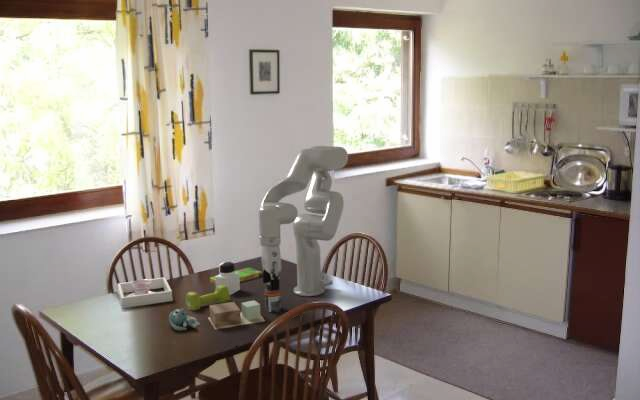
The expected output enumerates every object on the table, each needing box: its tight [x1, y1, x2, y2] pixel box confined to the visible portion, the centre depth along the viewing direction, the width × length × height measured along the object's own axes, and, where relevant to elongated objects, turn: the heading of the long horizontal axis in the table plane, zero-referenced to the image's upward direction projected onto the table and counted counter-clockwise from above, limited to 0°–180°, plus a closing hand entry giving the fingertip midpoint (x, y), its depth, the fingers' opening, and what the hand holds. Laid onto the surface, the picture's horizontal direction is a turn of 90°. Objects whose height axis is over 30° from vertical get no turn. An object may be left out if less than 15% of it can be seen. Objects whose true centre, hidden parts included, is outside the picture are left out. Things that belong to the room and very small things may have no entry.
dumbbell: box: [185, 285, 231, 311], centre depth 255 cm, size 16×8×7 cm, turn 127°
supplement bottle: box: [264, 282, 282, 313], centre depth 248 cm, size 6×6×11 cm
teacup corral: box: [117, 277, 174, 309], centre depth 269 cm, size 19×19×4 cm
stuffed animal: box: [168, 308, 201, 332], centre depth 237 cm, size 11×7×12 cm
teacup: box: [126, 278, 156, 297], centre depth 269 cm, size 12×12×6 cm
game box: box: [209, 267, 262, 285], centre depth 289 cm, size 3×10×20 cm
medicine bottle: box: [214, 261, 241, 296], centre depth 272 cm, size 7×7×12 cm
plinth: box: [207, 301, 266, 330], centre depth 239 cm, size 18×12×6 cm, turn 111°
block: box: [240, 299, 262, 320], centre depth 241 cm, size 5×5×5 cm
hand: (271, 286), depth 246 cm, fingers open, 9 cm apart
